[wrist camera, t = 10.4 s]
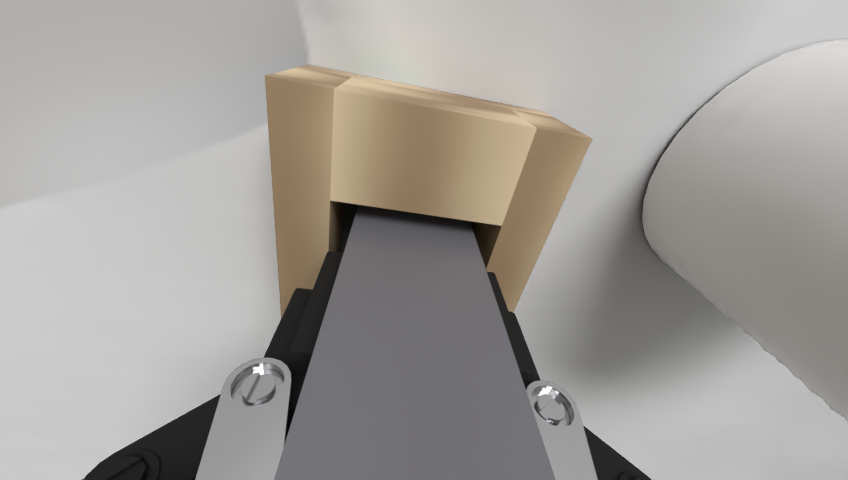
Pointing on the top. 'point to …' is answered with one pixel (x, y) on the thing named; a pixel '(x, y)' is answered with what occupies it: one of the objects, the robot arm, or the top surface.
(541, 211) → the bamboo dock
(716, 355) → the top surface
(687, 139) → the toilet tissue
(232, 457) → the robot arm
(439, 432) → the block
